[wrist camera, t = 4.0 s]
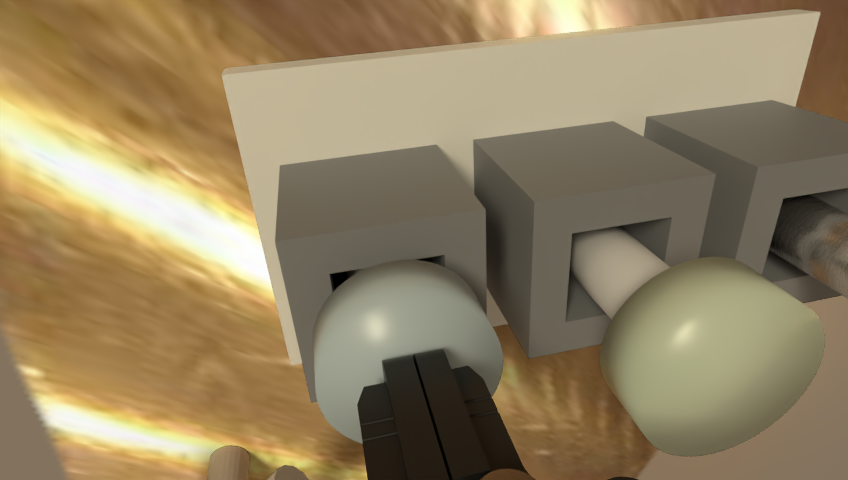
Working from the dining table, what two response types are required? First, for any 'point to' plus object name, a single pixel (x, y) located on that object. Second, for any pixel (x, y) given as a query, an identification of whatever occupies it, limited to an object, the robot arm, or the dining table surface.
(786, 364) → the sage plug
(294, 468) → the pipe connector
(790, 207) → the brass plug
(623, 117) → the socket board
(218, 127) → the dining table surface
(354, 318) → the slate plug
